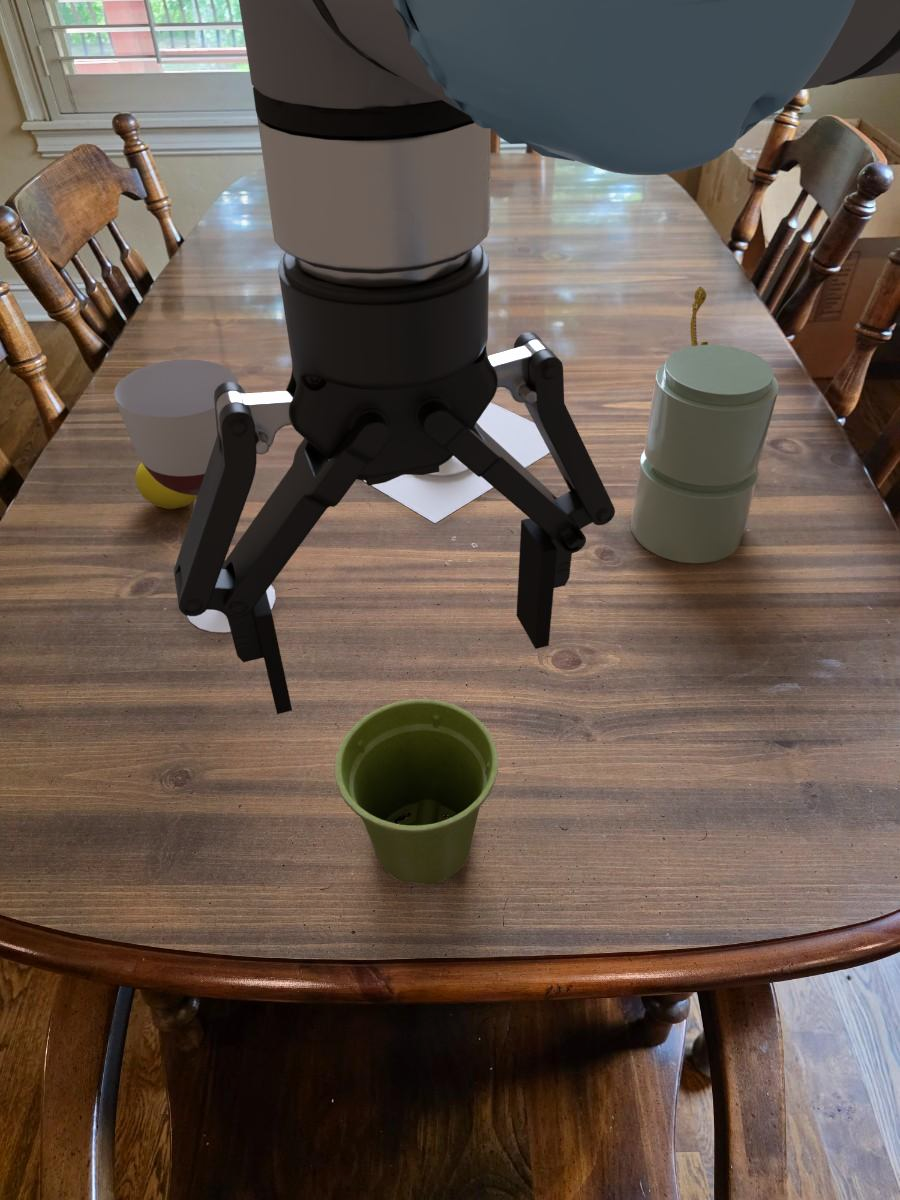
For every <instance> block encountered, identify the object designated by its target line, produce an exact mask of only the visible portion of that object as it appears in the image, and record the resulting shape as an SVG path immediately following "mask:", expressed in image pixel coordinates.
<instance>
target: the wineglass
mask: <svg viewBox="0 0 900 1200" xmlns="http://www.w3.org/2000/svg"><path fill="white" fill-rule="evenodd" d="M226 382H235V383H237V384H239V380H238V377H237V375H236V374H235V372H233V371H232V370H231V369H230V368H228V367H227V366H225V365H222V364H220V363H217V362H213V361H209V360H202V359H193V358H192V359H191V358H190V359H189V358H187V359H186V358H185V359H184V358H183V359H170V360H163V361H159V362H155V363H151V364H147V365H145V366H142V367H139V368H137V369H135V370H133V371H131V372H130V373H127V374H126V375H125V376H123V378H121V379H120V380H119V382H118V383H117V384H116V386H115V388H114V392H113V394H114V399H115V403H116V405H117V408H118V411H119V414H120V416H121V419H122V422H123V424H124V427H125V429H126V431H127V435H128V437H129V439H130V441H131V444H132V446H133V448H134V450H135V452H136V454H137V456H138V458H139V460H140V461H141V463H143V465H144V466H145V468H146V469H147V470H148V472H149V473H150V474H151V475H152V476H153V477H154V479H155V480H157V481H158V482H159V483H160V484H162V485H163V486H165V487H167V488H169V489H171V490H173V491H176V492H179V493H183V494H188V495H198V494H199V490H200V487H201V484H202V481H203V478H204V475H205V472H206V469H207V466H208V462H209V459H210V456H211V453H212V450H213V447H214V444H215V441H216V438H217V426H216V415H215V404H214V392H215V390H216V389H217V387H218V386H219V385H221V384H222V383H226ZM239 385H240V384H239ZM266 593H267V597H268V601H269V604H270V608H271V610H272V609H273V608H274V604H275V602H276V599H277V598H276V591H275V588H274V586H272V584H271V585H270V586H269V588H268V589H267V591H266ZM186 617H187V619H188V621H189V622H190V623H191V624H193V626H195V627H197V628H198V629H201V630H203V631H207V632H210V633H231V630H230V626H229V622H228V619H227V617H226V615H225V614H224V613H222V612H220V611H217V610H206V611H205V612H204V613H202V614H201V615H198V616H187V615H186Z"/></svg>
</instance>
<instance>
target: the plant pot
mask: <svg viewBox="0 0 900 1200" xmlns="http://www.w3.org/2000/svg"><path fill="white" fill-rule="evenodd" d="M334 761H335V763H334V777H335V782H336V785H337V786H336V787H337V789H338V791H339V793H340V795H341V798H342V799H343V801H344V802H345V803H346V805H347V806H348V807H349V808H350V809H351V810H352V811H353V812H354V813H355V814H356V815H357V816H358V817H359V818H360V819H361V820H362V822H363V824H364V827H365V830H366V832H367V834H368V836H369V839H370V842H371V845H372V847H373V849H374V852H375V855H376V857H377V859H378V861H379V862H380V866H381V867H382V868H383V870H384V871H386V873H388V875H390V876H391V877H393V878H394V879H396V880H398V881H400V882H402V883H405V884H423V885H434V884H438V883H441V882H443V881H446V880H448V879H449V878H450V877H453V876H454V875H455V874H456V873H458V872H459V870H461V868H462V867H463V866H464V865H465V863H466V861H467V859H468V857H469V854H470V851H471V848H472V843H473V839H474V834H475V829H476V825H477V820H478V816H479V811H480V807H481V805H483V804H484V803H485V801H486V799H488V797H489V795H490V793H491V792H492V790H493V788H494V785H495V782H496V779H497V775H498V771H499V754H498V749H497V746H496V743H495V740H494V738H493V736H492V734H491V733H490V731H489V729H488V728H487V727H486V726H485V724H484V723H483V722H481V721H480V719H478V718H477V717H476V716H475V715H473V714H472V713H470V711H467V710H465V709H463V708H462V707H460V706H458V705H456V704H453V703H450V702H447V701H441V700H435V699H430V698H429V699H428V698H417V699H416V698H415V699H413V698H412V699H405V700H400V701H395V702H393V703H389V704H386V705H384V706H381V707H379V708H377V709H375V710H373V711H372V712H370V713H368V714H367V715H365V716H364V717H362V718H361V719H360V720H359V721H358V722H356V723H355V724H354V725H353V727H351V729H350V730H349V731H348V732H347V734H346V735H345V737H344V738H343V740H342V741H341V742H340V745H339V748H338V750H337V753H336V756H335V760H334ZM405 814H410V815H409V816H407V817H406V818H404V819H402V820H401V821H399V822H398V823H395V821H396V820H397V819H398V818H400V817H401V816H403V815H405ZM446 816H447V817H449V818H447V819H446V818H445V817H446Z"/></svg>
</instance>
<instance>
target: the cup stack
mask: <svg viewBox="0 0 900 1200" xmlns="http://www.w3.org/2000/svg"><path fill="white" fill-rule="evenodd" d="M779 390H780V386H779V381H778V379H777V377H776V376H775V371H774V369H773V367H772V366H771V364H769V362H767V361H766V360H765V359H764V358H763V357H760V356H759V355H757V354H755V353H753V352H751V351H748V350H745V349H743V348H738V347H734V346H729V345H721V344H708V345H701V344H697V346H692V345H691V346H687V347H683V348H680V349H677V350H675V351H673V352H672V353H671V354H669V356H667V358H666V360H665V362H663V363H662V364H661V365H659V367H658V368H657V370H656V372H655V377H654V384H653V389H652V397H651V403H650V409H649V414H648V415H649V416H648V420H647V421H648V422H647V428H646V435H645V442H644V446H643V447H644V448H643V451H642V452H641V454H640V459H639V465H638V471H637V477H636V484H635V485H636V486H635V491H634V498H633V505H632V511H631V515H630V530H631V532H632V535H633V538H635V540H636V541H637V542H638V543H639V544H640V545H641V546H642V547H643V548H645V550H648V551H649V552H651V553H652V554H654V555H657V556H659V557H661V558H663V559H667V560H670V561H674V562H678V563H685V564H706V563H707V564H708V563H713V562H717V561H720V560H723V559H725V558H728V557H729V556H731V555H732V554H733V553H734V552H736V550H737V549H738V548H739V547H740V545H741V543H742V539H743V536H744V531H745V528H746V524H747V520H748V518H749V514H750V509H751V506H752V503H753V498H754V495H755V490H756V487H757V483H758V480H759V477H760V476H759V475H760V470H759V466H760V463H761V458H762V454H763V451H764V447H765V443H766V439H767V435H768V432H769V428H770V424H771V421H772V416H773V412H774V409H775V405H776V401H777V398H778V394H779Z"/></svg>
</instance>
